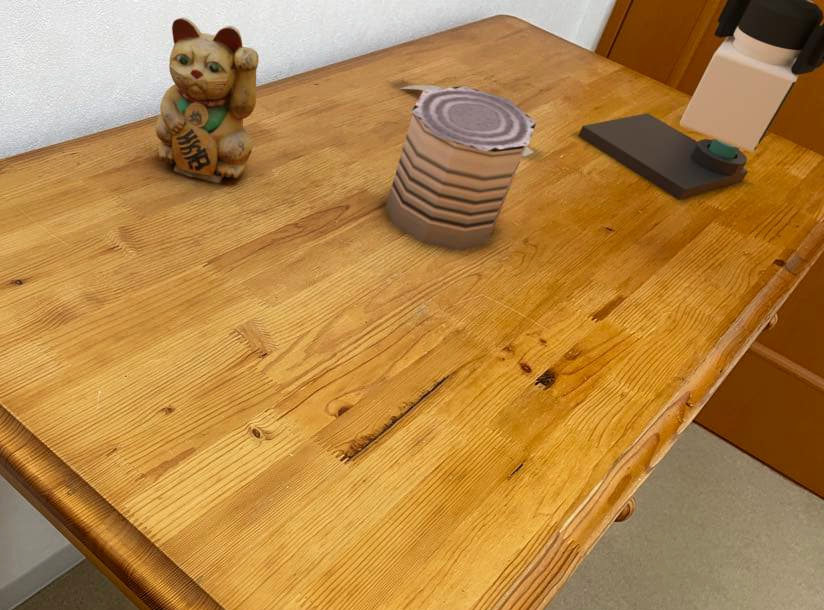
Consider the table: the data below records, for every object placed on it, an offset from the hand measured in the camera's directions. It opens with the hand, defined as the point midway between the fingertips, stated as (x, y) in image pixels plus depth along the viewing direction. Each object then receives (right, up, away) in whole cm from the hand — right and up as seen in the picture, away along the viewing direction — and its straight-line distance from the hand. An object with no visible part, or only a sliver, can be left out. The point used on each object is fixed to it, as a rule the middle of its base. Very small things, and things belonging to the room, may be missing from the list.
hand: (763, 51), depth 76 cm
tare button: (+11, -1, +29) cm, 31 cm away
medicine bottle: (-1, -5, +5) cm, 8 cm away
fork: (-21, +4, +30) cm, 37 cm away
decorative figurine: (-51, -7, +11) cm, 53 cm away
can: (-27, -13, +11) cm, 32 cm away
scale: (+5, -1, +32) cm, 32 cm away
